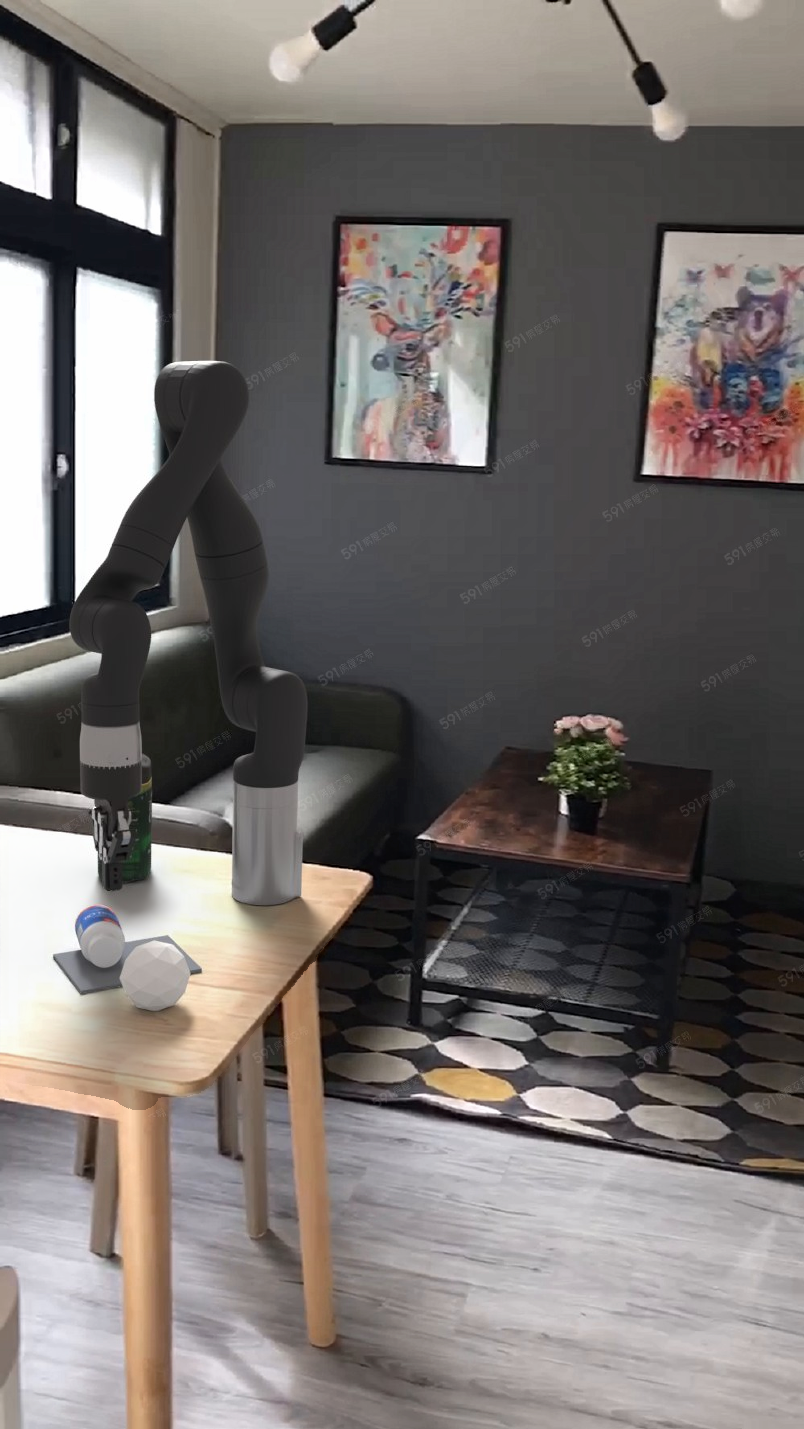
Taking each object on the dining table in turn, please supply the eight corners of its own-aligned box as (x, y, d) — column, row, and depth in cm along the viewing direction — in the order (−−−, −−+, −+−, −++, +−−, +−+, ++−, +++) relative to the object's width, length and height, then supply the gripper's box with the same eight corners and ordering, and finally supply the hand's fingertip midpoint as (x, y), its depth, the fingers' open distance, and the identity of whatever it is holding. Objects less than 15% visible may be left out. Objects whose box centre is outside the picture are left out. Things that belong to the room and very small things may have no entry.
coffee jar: (150, 884, 185) (150, 761, 181) (95, 885, 183) (93, 761, 180) (153, 862, 194) (153, 745, 190) (101, 863, 193) (99, 745, 189)
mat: (167, 937, 165) (167, 935, 165) (201, 971, 155) (201, 968, 155) (53, 957, 157) (53, 954, 157) (81, 993, 147) (81, 990, 147)
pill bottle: (118, 902, 161) (130, 930, 152) (116, 941, 162) (128, 971, 153) (74, 904, 159) (84, 932, 150) (72, 944, 160) (82, 975, 151)
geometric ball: (136, 1029, 145) (97, 971, 145) (190, 988, 150) (152, 932, 149) (157, 1021, 139) (117, 961, 139) (213, 979, 143) (174, 921, 143)
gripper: (157, 766, 153) (157, 901, 157) (123, 743, 164) (124, 869, 168) (97, 772, 150) (98, 910, 153) (66, 748, 161) (68, 877, 164)
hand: (112, 888), depth 161 cm, fingers closed
